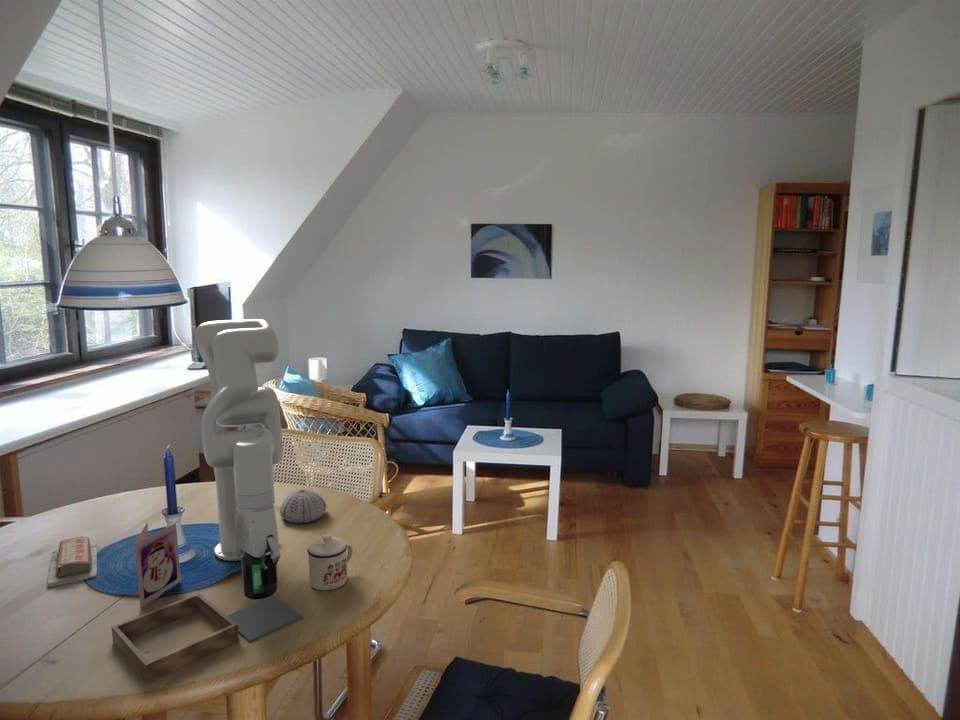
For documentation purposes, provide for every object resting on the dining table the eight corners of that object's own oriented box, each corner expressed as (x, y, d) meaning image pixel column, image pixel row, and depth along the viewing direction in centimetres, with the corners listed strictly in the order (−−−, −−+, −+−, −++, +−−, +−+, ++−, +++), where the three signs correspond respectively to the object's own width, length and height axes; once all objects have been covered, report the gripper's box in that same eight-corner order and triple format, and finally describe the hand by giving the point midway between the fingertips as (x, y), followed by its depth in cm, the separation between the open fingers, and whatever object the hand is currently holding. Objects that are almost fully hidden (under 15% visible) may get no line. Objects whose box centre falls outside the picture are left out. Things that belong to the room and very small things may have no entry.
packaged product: (50, 540, 165) (95, 531, 170) (52, 557, 166) (97, 549, 171) (45, 570, 150) (95, 560, 155) (47, 589, 150) (97, 579, 155)
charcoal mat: (273, 597, 147) (273, 595, 147) (302, 617, 139) (302, 616, 139) (222, 619, 138) (222, 617, 138) (250, 642, 130) (249, 640, 130)
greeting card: (143, 608, 142) (137, 544, 139) (118, 602, 145) (111, 539, 142) (183, 583, 153) (178, 523, 150) (159, 577, 155) (154, 518, 153)
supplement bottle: (264, 603, 133) (261, 548, 131) (236, 597, 135) (232, 543, 133) (284, 586, 139) (281, 534, 137) (257, 581, 142) (254, 529, 140)
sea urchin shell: (302, 530, 182) (301, 503, 180) (269, 519, 189) (268, 493, 187) (336, 514, 193) (335, 488, 191) (304, 504, 200) (302, 479, 198)
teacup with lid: (326, 595, 148) (324, 548, 145) (300, 583, 153) (298, 537, 151) (365, 574, 157) (363, 529, 155) (339, 563, 162) (338, 519, 160)
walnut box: (200, 607, 143) (199, 592, 142) (239, 640, 131) (238, 624, 130) (113, 642, 130) (111, 626, 129) (147, 682, 118) (145, 665, 117)
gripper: (218, 492, 137) (223, 570, 140) (259, 514, 125) (264, 600, 128) (251, 482, 142) (256, 558, 145) (294, 503, 131) (298, 586, 134)
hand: (260, 577), depth 137 cm, fingers closed on supplement bottle, 6 cm apart
